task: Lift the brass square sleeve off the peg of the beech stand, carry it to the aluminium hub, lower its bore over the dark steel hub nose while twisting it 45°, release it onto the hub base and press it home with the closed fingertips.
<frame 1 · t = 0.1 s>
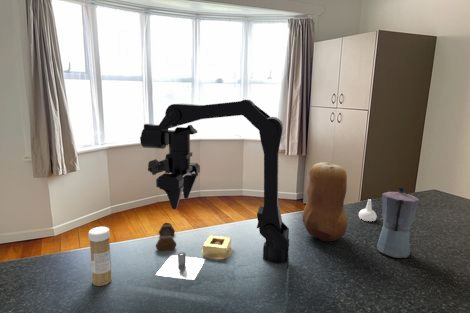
hand: (180, 203, 88), 14 cm above the countertop, tool pointing down, fingers open, 9 cm apart
brass square sleeve: (217, 251, 89), point 1 cm above the countertop, touching stand
stand: (217, 254, 89), on the countertop
moka pot: (393, 253, 92), on the countertop
garlic bulb: (367, 219, 118), on the countertop
butternut squash: (322, 238, 101), on the countertop
sprinkles bottle: (102, 282, 75), on the countertop
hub: (181, 270, 81), on the countertop
bolt: (167, 243, 96), on the countertop
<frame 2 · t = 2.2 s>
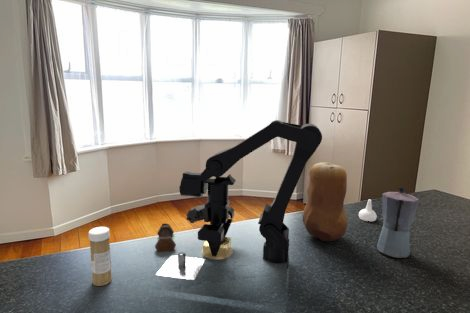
hand: (217, 250, 89), 1 cm above the countertop, tool pointing down, fingers closed on brass square sleeve, 7 cm apart
brass square sleeve: (217, 251, 89), point 1 cm above the countertop, touching gripper, stand
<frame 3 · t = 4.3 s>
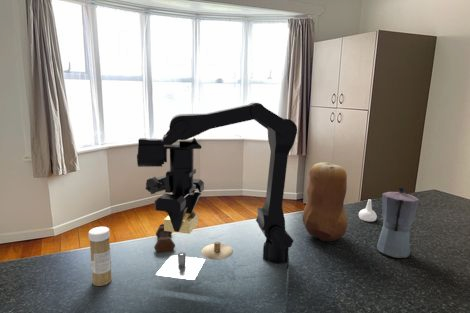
hand: (181, 225, 79), 12 cm above the countertop, tool pointing down, fingers closed on brass square sleeve, 7 cm apart
brass square sleeve: (181, 226, 79), point 12 cm above the countertop, touching gripper
when the fingers open (2 cm above the countertop, at t = 6.5 s): brass square sleeve stays where it is, resting on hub.
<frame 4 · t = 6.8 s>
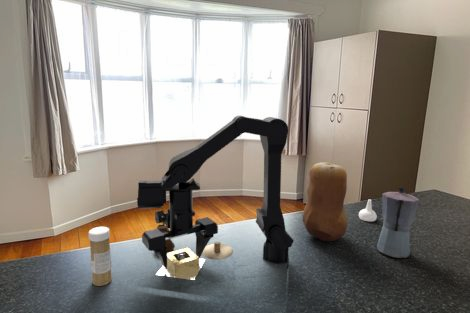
hand: (181, 263, 81), 2 cm above the countertop, tool pointing down, fingers open, 9 cm apart
brass square sleeve: (181, 266, 81), point 1 cm above the countertop, touching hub
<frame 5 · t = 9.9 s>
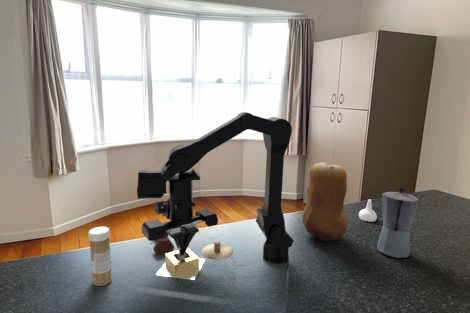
hand: (181, 254, 80), 4 cm above the countertop, tool pointing down, fingers closed, pressing on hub
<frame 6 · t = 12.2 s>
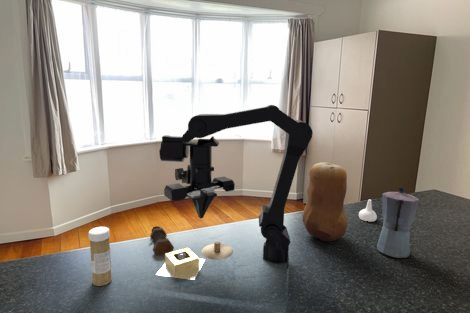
hand: (200, 217, 85), 12 cm above the countertop, tool pointing down, fingers closed
at the end: brass square sleeve 0.1 cm off-centre on the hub, point 1.0 cm above the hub's base; the gripper is holding nothing; brass square sleeve tilted 0° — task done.
